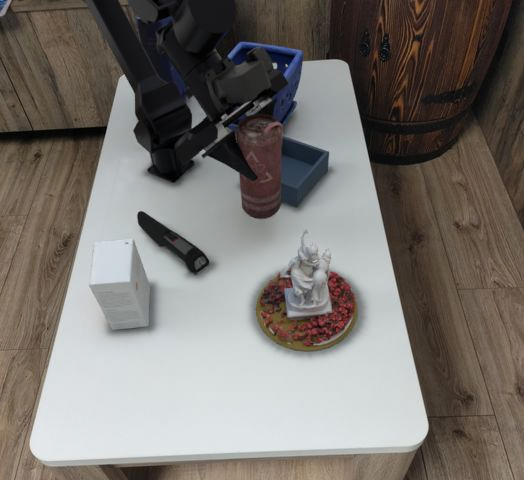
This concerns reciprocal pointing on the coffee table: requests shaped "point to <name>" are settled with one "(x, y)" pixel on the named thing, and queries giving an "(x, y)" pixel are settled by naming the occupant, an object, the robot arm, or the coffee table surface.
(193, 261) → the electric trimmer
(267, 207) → the can
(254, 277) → the coffee table surface
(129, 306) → the small box
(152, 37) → the book
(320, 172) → the bin
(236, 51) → the flower pot
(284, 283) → the figurine
